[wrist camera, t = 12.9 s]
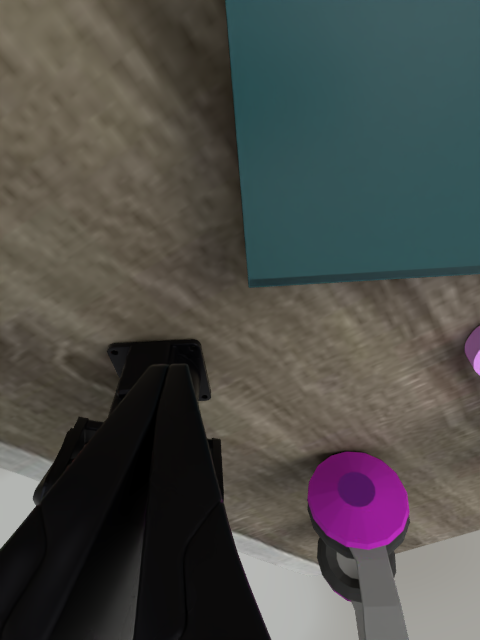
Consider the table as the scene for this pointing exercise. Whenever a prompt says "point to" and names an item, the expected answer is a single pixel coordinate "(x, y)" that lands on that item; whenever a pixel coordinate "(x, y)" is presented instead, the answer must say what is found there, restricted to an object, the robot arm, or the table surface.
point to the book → (357, 138)
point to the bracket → (474, 349)
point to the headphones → (361, 537)
